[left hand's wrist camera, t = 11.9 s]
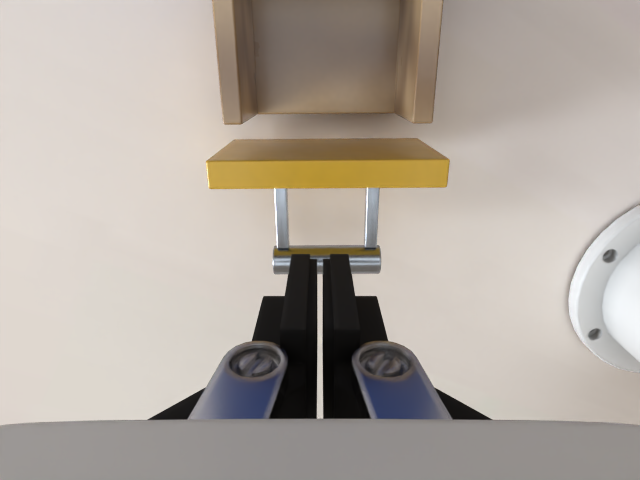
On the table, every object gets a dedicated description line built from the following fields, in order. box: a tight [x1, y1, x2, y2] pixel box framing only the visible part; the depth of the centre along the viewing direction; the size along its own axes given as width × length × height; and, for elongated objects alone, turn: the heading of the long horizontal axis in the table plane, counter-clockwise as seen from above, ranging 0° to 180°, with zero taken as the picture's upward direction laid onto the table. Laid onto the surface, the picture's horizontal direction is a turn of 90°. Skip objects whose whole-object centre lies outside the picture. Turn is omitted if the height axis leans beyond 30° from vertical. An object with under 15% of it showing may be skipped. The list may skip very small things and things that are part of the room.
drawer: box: [206, 0, 450, 274], centre depth 18 cm, size 24×10×6 cm, turn 0°
